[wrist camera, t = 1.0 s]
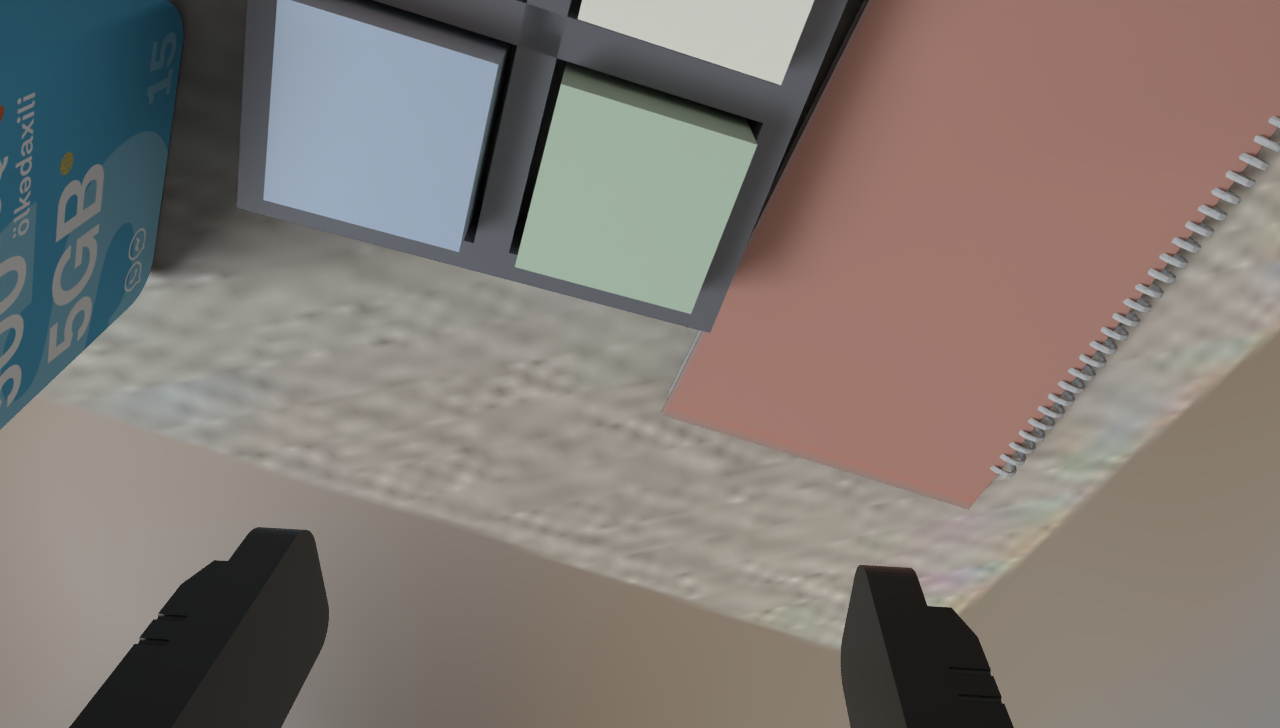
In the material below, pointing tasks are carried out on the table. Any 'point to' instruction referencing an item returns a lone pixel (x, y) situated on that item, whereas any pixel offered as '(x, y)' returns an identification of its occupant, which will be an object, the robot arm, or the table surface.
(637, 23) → the cream key
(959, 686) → the robot arm
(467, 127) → the dusty blue key
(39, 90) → the data package
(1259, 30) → the notebook
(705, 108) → the sage key
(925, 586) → the table surface
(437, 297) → the table surface
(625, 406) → the table surface
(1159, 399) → the table surface
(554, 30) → the keypad
